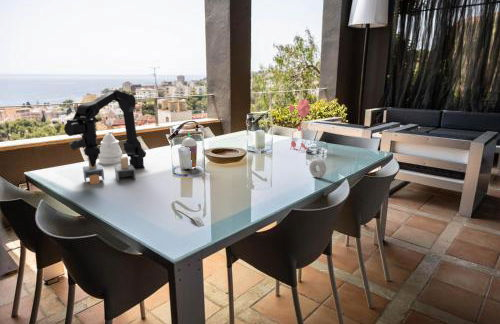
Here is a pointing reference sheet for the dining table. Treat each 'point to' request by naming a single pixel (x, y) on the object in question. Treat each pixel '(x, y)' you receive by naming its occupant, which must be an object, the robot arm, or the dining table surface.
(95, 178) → the letter cube
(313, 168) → the donut
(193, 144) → the smoothie
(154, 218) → the dining table surface
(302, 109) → the figurine
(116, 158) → the honey pot
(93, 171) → the blue-grey and tan block
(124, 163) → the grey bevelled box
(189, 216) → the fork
